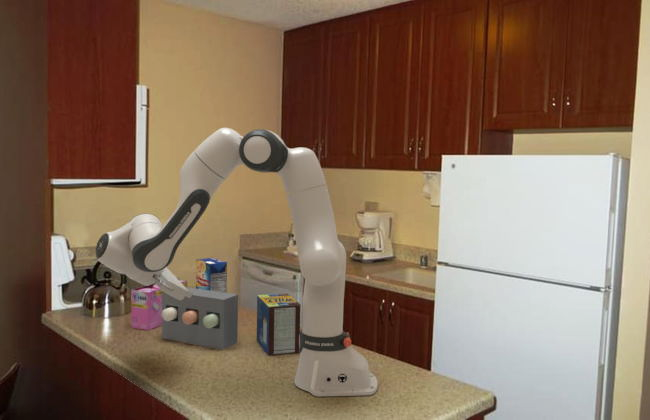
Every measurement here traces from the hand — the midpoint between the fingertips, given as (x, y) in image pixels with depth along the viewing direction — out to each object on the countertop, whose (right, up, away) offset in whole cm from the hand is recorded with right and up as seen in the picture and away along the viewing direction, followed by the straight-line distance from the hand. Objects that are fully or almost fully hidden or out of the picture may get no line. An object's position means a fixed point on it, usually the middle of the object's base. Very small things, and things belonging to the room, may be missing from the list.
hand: (184, 287), depth 168 cm
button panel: (+1, -20, +17) cm, 26 cm away
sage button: (+6, -13, +9) cm, 17 cm away
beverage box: (-1, -18, +42) cm, 46 cm away
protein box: (+27, -21, +13) cm, 36 cm away
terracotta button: (-1, -13, +12) cm, 18 cm away
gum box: (-18, -18, +38) cm, 46 cm away
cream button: (-8, -13, +15) cm, 21 cm away
